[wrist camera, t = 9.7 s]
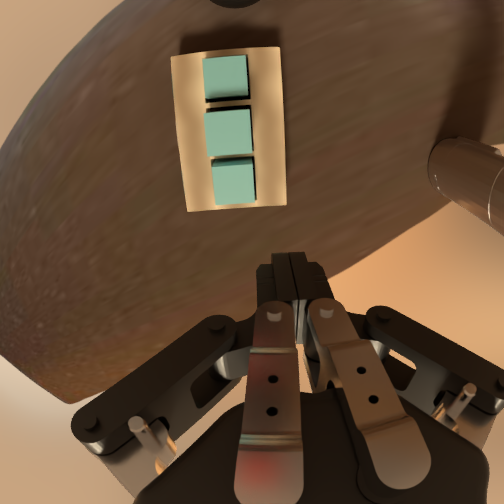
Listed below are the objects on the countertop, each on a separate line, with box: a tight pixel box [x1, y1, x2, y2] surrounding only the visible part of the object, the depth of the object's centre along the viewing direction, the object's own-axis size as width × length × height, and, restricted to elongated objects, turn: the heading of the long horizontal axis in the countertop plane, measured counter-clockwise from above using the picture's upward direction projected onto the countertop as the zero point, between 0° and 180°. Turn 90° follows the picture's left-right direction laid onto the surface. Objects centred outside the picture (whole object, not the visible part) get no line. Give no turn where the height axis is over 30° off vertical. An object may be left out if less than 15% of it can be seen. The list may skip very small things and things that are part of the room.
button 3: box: [212, 156, 255, 205], centre depth 34 cm, size 4×4×6 cm
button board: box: [171, 47, 286, 212], centre depth 32 cm, size 12×19×4 cm, turn 3°
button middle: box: [203, 109, 252, 157], centre depth 29 cm, size 4×4×6 cm
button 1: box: [202, 55, 248, 99], centre depth 28 cm, size 4×4×6 cm
